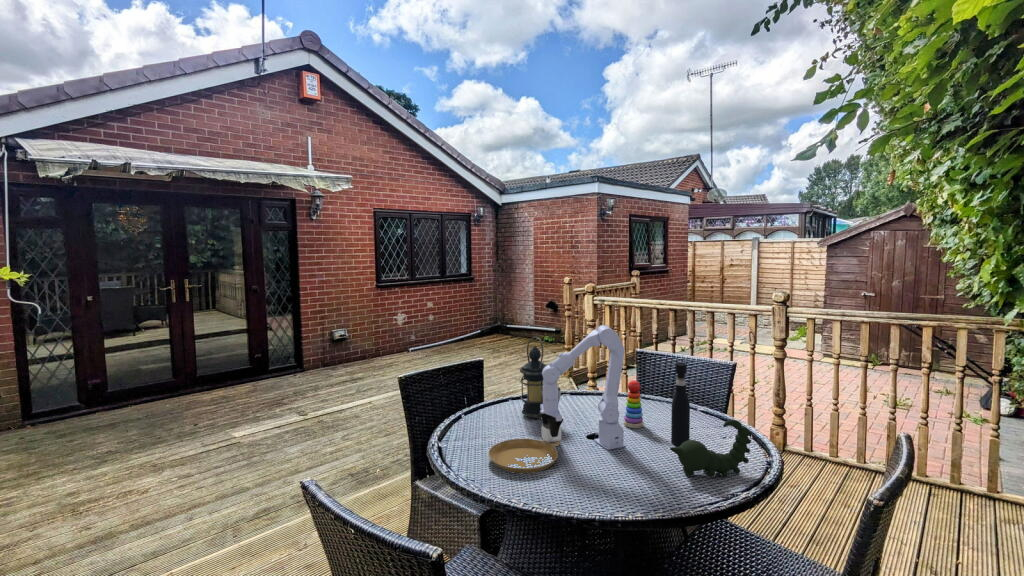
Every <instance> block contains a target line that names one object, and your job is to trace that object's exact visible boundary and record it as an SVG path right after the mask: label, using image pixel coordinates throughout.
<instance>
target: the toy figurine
mask: <svg viewBox="0 0 1024 576" xmlns="http://www.w3.org/2000/svg"><path fill="white" fill-rule="evenodd" d="M728 426H729V427H733V428H734V429H735V430H737V434H736V435H735V438H734V440H735V441H734V442H733V443H732V447H731V449H730V450H729V452H727V453H721V452H720V453H719V452H718V453H717V452H715V450H710V449H708V448H707V447H706V445H705V444H704V443H702V442H701V441H698V440H696V439H695V440H694V439H690V440H688V441H685V442H684V443H682V444H681V445H680V447H678V446H674V447H670V448H669V450H670V451H672V452H673V453H674V454H676V455H677V457H678V461H679V462H680V464H681V465H682V466H683V467H682V472H684V474H685V475H686V476H688V477H692V476H694V475H695V472H700V471H704V472H706V475H707V476H708V477H710V478H713V477H715V476H716V473H717V474H720V475H721V477H722V478H724V479H727V478H728V476H729V471H733V474H736V475H738V474H740V472H741V469H740V468H739V464H741V463H742V462H743V463H744V464H748V463H749V461H750V460H749V458H748V457H746V455H745V454H750V452H751V448H748V446H747V445H748V444H751V443H752V439H750V438H749V436H752V431H750V430H749V428H748V427H746V426H743V425H742V423H741V422H740V421H739V420H736V419H728V420H727V421H725V422H724V423H723V425H722V427H723V428H726V427H728Z"/></svg>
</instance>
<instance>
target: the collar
mask: <svg viewBox="0 0 1024 576" xmlns="http://www.w3.org/2000/svg"><path fill="white" fill-rule="evenodd" d="M541 438H542V440H543V439H544V440H545V441H547V442H554V441H559V440H560V441H561V440H562V427H561V426H560V428H559V432H558V436H557V437H552V436H551V429H550V425H549V423H546V424H543V423H542V424H541Z"/></svg>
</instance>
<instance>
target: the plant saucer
mask: <svg viewBox="0 0 1024 576" xmlns="http://www.w3.org/2000/svg"><path fill="white" fill-rule="evenodd" d="M487 454H488V457H489V459H490V461H491V462H492V463H493V465H495V466H496V467H497V468H499V469H501V470H503V471H505V472H508V471H509V473H511V472H514V473H513V474H518V473H529V474H534V472H536V473H539V471H540V472H542V470H543V471H545V470H546V469H549V468H550V467H551V466H552V465H554V464H555V462H556V461H557V459H558V457H559V452H558V449H557V447H554V446H552V445H551V444H549V443H546V442H543V441H542V440H538V439H534V438H512V439H507V440H503V441H500V442H498V443H496V444H494V445H492V446H491V447H490V448H489V450H488V453H487ZM547 454H549V455H550V457H552V460H553V461H552V462H551V463H549V464H547V465H544V466H540V467H535V468H513V467H508V464H509V465H511V464H518V466H521V467H527V466H526V465H525V464H526V463H524V462H523V461H517V460H516V459H515V458H521V459H522V458H524V457H537V458H538V459H539V458H540V457H542V458H543V459H544V457H548V456H547ZM526 455H528V456H526ZM514 457H515V458H514ZM538 459H535V460H534V461H535V462H533V463H529V462H528V463H529V464H531V465H535V464H537V465H539V464H540V463H537V462H538ZM539 460H540V462H541V463H542V459H539ZM544 460H545V459H544ZM533 467H534V466H533Z"/></svg>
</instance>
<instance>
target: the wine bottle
mask: <svg viewBox="0 0 1024 576" xmlns="http://www.w3.org/2000/svg"><path fill="white" fill-rule="evenodd" d="M687 366H688V365H687V364H686V363H684V362H676V363H675V374H677V376H676V377H677V379H675V388H674V389H675V390H674V391H675V392H674V395H673V397H672V401H671V418H670V419H671V424H670V425H671V426H670V427H671V428H670V430H671V432H670V433H671V434H670V435H671V436H670V437H671V438H670V441H671V442H670V443H671V445H673V446H674V447H680V445H681V444H682V443H684V442H685V441H688V440H691V439H690V436H691V435H690V429H691V428H690V425H691V423H690V422H691V421H690V419H691V414H690V413H691V412H690V411H691V405H690V400H689V399H690V398H689V396H688V394H687V384H686V379H685V376H686V374H687V372H688V371H687V370H688V369H687Z"/></svg>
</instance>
